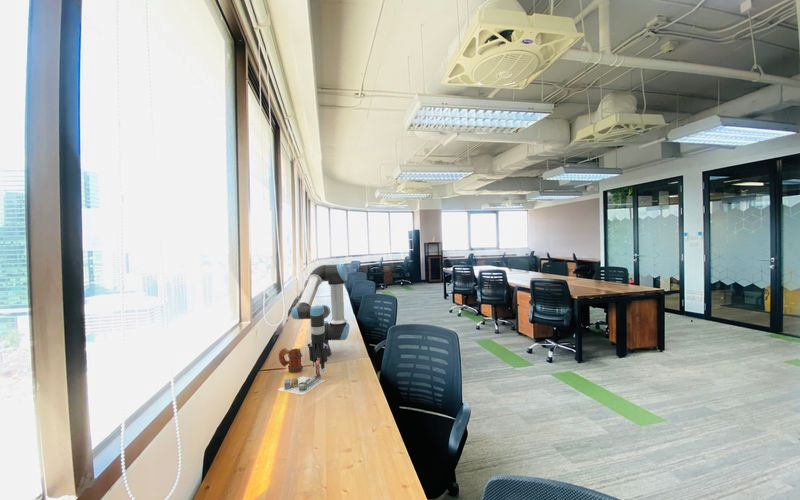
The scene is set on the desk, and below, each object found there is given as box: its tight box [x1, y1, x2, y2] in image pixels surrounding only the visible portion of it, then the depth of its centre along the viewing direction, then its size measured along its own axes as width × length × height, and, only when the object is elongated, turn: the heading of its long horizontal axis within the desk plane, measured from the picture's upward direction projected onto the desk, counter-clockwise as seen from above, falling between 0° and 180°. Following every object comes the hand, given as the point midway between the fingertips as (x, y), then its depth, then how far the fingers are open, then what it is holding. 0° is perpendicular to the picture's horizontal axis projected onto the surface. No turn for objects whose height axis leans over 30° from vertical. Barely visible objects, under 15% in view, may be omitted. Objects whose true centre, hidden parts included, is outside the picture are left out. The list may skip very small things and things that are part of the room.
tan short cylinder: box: [291, 378, 298, 388], centre depth 177 cm, size 4×4×4 cm
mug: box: [278, 347, 304, 374], centre depth 200 cm, size 15×8×15 cm, turn 84°
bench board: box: [277, 375, 326, 396], centre depth 179 cm, size 19×17×2 cm
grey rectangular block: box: [283, 378, 292, 390], centre depth 176 cm, size 5×3×4 cm, turn 17°
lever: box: [299, 358, 322, 390], centre depth 179 cm, size 18×4×10 cm, turn 157°
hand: (319, 373), depth 186 cm, fingers closed on lever, 3 cm apart
